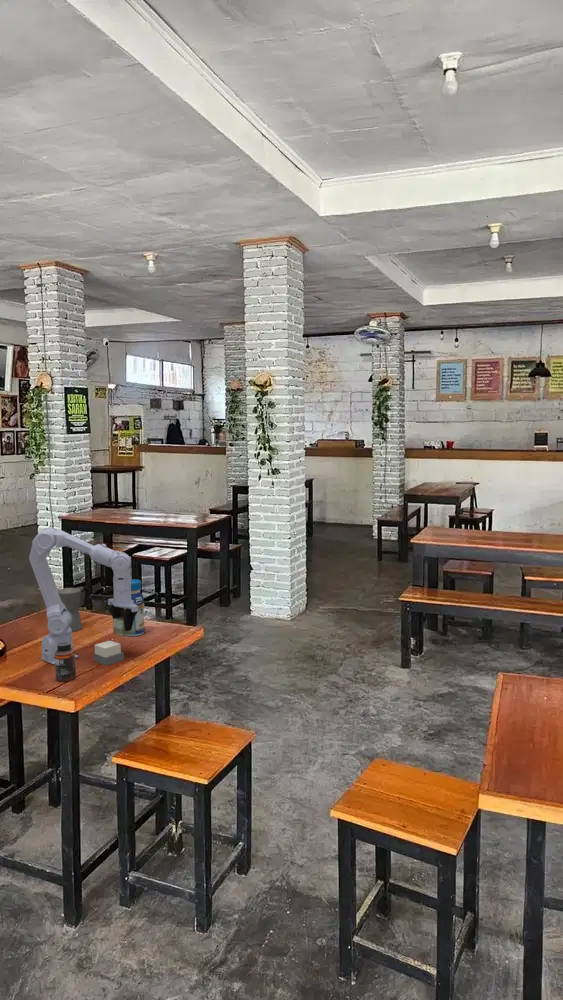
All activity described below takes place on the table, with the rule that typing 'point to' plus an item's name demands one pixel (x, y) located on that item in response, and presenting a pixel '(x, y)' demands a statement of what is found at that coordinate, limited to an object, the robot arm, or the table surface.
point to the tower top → (107, 648)
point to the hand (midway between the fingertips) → (123, 628)
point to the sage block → (121, 627)
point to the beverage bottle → (138, 600)
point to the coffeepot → (74, 603)
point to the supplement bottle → (65, 662)
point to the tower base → (109, 659)
